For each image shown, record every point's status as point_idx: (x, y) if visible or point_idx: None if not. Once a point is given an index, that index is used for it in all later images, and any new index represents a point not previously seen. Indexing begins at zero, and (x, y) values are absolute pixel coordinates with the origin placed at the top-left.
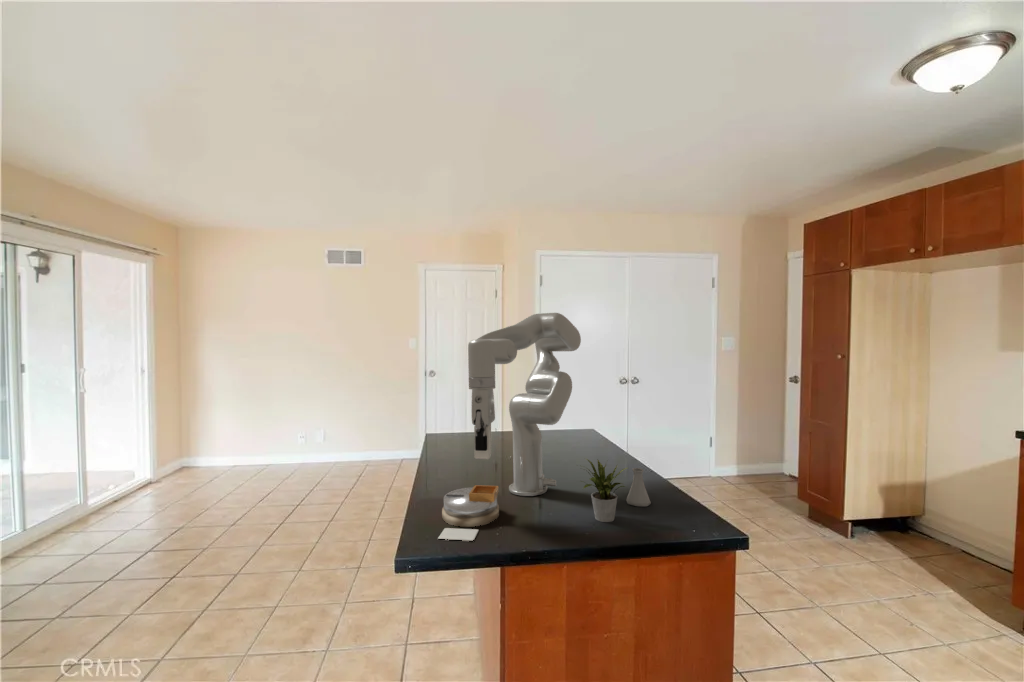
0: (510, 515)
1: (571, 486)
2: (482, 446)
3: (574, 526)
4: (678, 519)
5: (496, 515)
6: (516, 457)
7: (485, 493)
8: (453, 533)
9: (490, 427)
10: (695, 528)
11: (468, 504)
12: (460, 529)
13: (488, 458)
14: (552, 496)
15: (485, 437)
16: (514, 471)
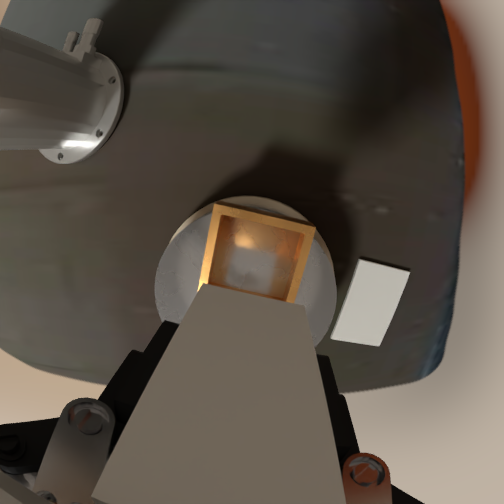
0: (265, 160)
1: (81, 4)
2: (342, 402)
3: (357, 15)
4: None
5: (288, 206)
6: (16, 131)
7: (298, 260)
8: (366, 318)
9: (160, 476)
10: None
11: (320, 307)
12: (349, 304)
13: (304, 308)
14: (134, 37)
15: (343, 443)
16: (44, 143)
